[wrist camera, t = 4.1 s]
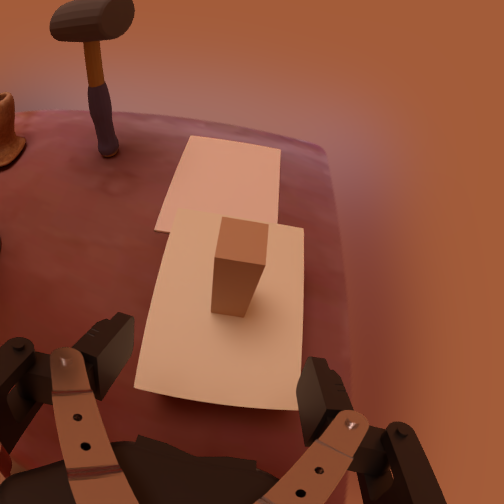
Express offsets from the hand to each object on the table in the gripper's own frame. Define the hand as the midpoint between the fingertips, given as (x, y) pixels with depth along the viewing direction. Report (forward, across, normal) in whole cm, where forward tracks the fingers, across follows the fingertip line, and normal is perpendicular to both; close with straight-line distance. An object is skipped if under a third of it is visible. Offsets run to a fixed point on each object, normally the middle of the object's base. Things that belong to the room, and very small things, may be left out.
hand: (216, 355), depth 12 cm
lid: (+15, 0, +4) cm, 15 cm away
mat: (+35, +4, -7) cm, 36 cm away
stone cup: (+35, +58, -6) cm, 68 cm away
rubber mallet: (+37, +27, -8) cm, 47 cm away
